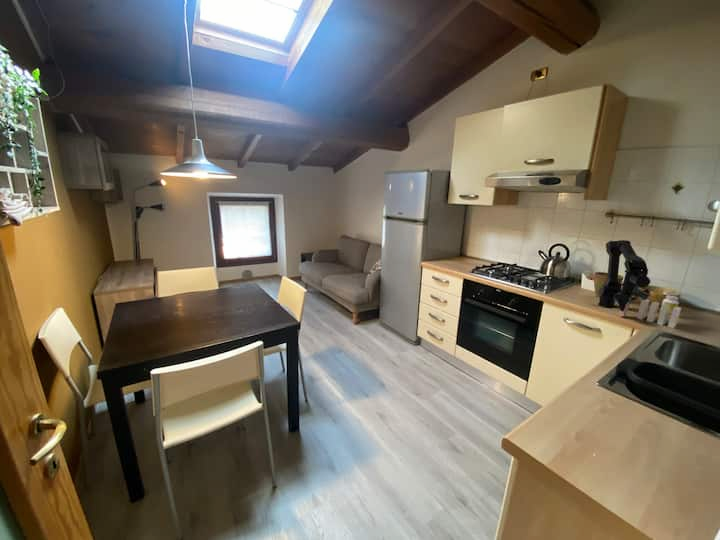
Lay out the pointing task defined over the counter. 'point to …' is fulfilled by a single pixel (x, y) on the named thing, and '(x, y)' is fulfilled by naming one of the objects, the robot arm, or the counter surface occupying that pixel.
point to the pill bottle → (670, 303)
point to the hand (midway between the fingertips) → (623, 310)
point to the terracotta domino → (623, 313)
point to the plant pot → (602, 281)
